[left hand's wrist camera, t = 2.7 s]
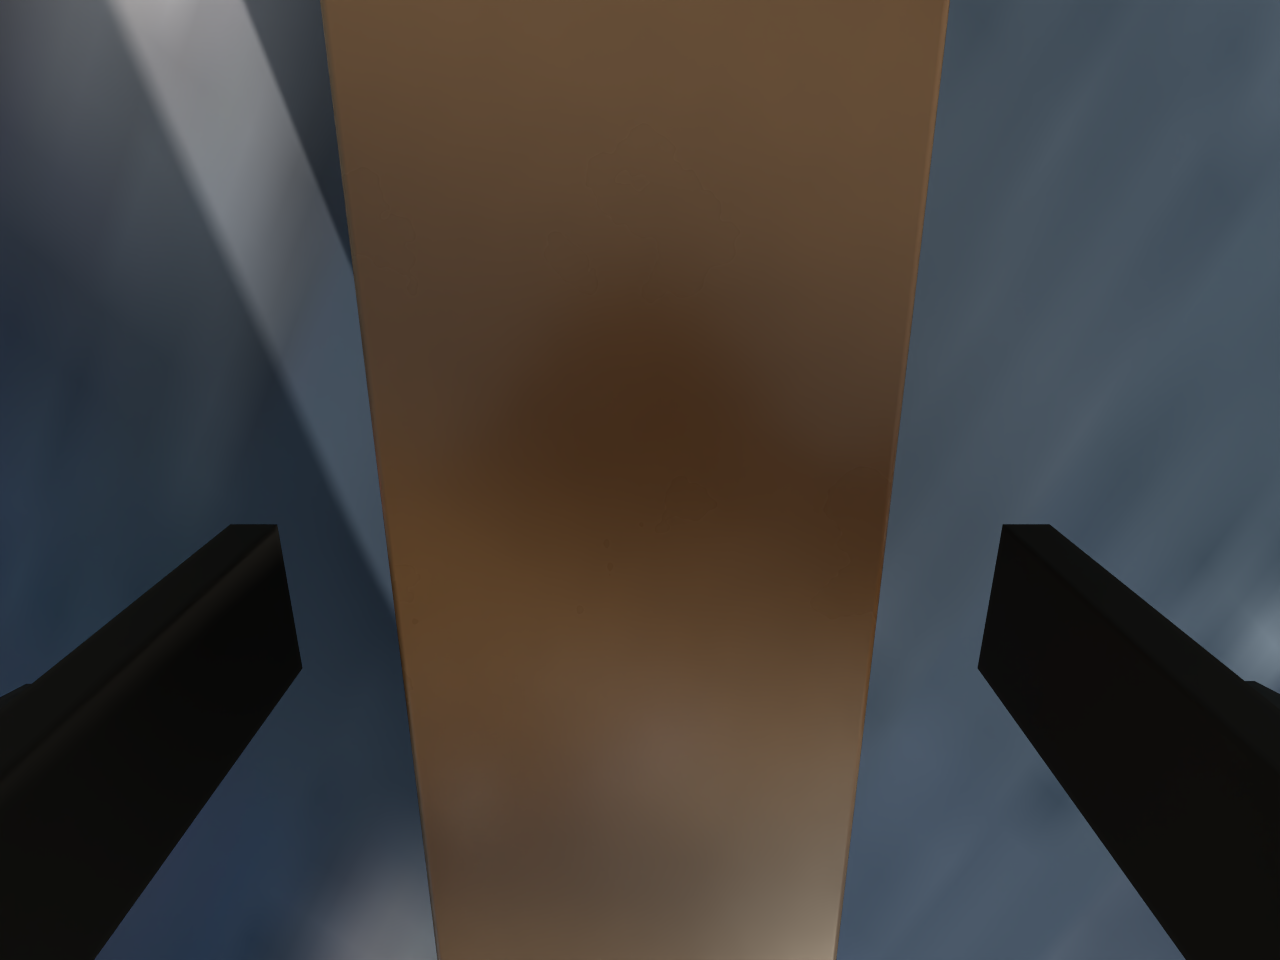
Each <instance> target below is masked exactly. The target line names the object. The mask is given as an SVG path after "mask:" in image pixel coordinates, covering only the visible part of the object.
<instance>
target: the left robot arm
mask: <svg viewBox="0 0 1280 960" xmlns="http://www.w3.org/2000/svg"><path fill="white" fill-rule="evenodd" d="M301 669H302V663H301V658H300V652H299V646H298V641H297V635H296V629H295V623H294V618H293V612H292V606H291V601H290V595H289V589H288V583H287V578H286V572H285V566H284V561H283V555H282V549H281V543H280V538H279V532H278V526H277V524H230V525H229V526H228V527H227V528H225V529H224V530H223V531H222V532H220V533H219V534H218V535H217V536H215V537H214V538H213V539H212V540H210V541H209V542H208V543H207V544H205V545H204V546H203V547H202V548H200V549H199V550H198V551H197V552H196V553H194V554H193V555H192V556H191V557H189V558H188V559H187V560H186V561H184V562H183V563H182V564H181V565H179V566H178V567H177V568H176V569H174V570H173V571H172V572H171V573H169V574H168V575H167V576H166V577H164V578H163V579H162V580H161V581H159V582H158V583H157V584H156V585H154V586H153V587H152V588H151V589H149V590H148V591H147V592H146V593H144V594H143V595H142V596H141V597H139V598H138V599H137V600H136V601H134V602H133V603H132V604H131V605H130V606H128V607H127V608H126V609H125V610H123V611H122V612H121V613H120V614H118V615H117V616H116V617H115V618H113V619H112V620H111V621H110V622H108V623H107V624H106V625H105V626H103V627H102V628H101V629H100V630H98V631H97V632H96V633H95V634H93V635H92V636H91V637H90V638H88V639H87V640H86V641H85V642H83V643H82V644H81V645H80V646H78V647H77V648H76V649H75V650H73V651H72V652H71V653H70V654H68V655H67V656H66V657H65V658H64V659H62V660H61V661H60V662H59V663H57V664H56V665H55V666H54V667H52V668H51V669H50V670H49V671H47V672H46V673H45V674H44V675H42V676H41V677H40V678H39V679H37V680H36V681H35V682H34V683H32V684H25V685H23V686H21V687H19V688H17V689H16V690H14V691H12V692H10V693H8V694H6V695H4V696H2V697H0V960H94V959H95V958H96V956H97V955H98V953H99V952H100V951H101V949H102V948H103V946H104V945H105V944H106V942H107V941H108V939H109V938H110V937H111V935H112V934H113V932H114V931H115V930H116V928H117V927H118V925H119V924H120V923H121V921H122V920H123V918H124V917H125V916H126V914H127V913H128V911H129V910H130V909H131V907H132V906H133V904H134V903H135V902H136V900H137V899H138V897H139V896H140V895H141V893H142V892H143V891H144V889H145V888H146V886H147V885H148V884H149V882H150V881H151V879H152V878H153V877H154V875H155V874H156V872H157V871H158V870H159V868H160V867H161V865H162V864H163V863H164V861H165V860H166V858H167V857H168V856H169V854H170V853H171V851H172V850H173V849H174V847H175V846H176V844H177V843H178V842H179V840H180V839H181V837H182V836H183V835H184V833H185V832H186V830H187V829H188V828H189V826H190V825H191V823H192V822H193V821H194V819H195V818H196V816H197V815H198V814H199V812H200V811H201V809H202V808H203V807H204V805H205V804H206V802H207V801H208V800H209V798H210V797H211V795H212V794H213V793H214V791H215V790H216V788H217V787H218V786H219V784H220V783H221V781H222V780H223V779H224V777H225V776H226V774H227V773H228V772H229V770H230V769H231V767H232V766H233V765H234V763H235V762H236V760H237V759H238V758H239V756H240V755H241V753H242V752H243V751H244V749H245V748H246V746H247V745H248V744H249V742H250V741H251V739H252V738H253V737H254V735H255V734H256V732H257V731H258V730H259V728H260V727H261V725H262V724H263V723H264V721H265V720H266V718H267V717H268V716H269V714H270V713H271V711H272V710H273V709H274V707H275V706H276V704H277V703H278V702H279V700H280V699H281V697H282V696H283V695H284V693H285V692H286V690H287V689H288V688H289V686H290V685H291V683H292V682H293V681H294V679H295V678H296V676H297V675H298V674H299V672H300V671H301ZM978 669H979V671H980V672H981V674H982V675H983V676H984V678H985V679H986V681H987V682H988V683H989V685H990V686H991V688H992V689H993V690H994V692H995V693H996V695H997V696H998V697H999V699H1000V700H1001V702H1002V703H1003V704H1004V706H1005V707H1006V709H1007V710H1008V711H1009V713H1010V714H1011V716H1012V717H1013V718H1014V720H1015V721H1016V723H1017V724H1018V725H1019V727H1020V728H1021V730H1022V731H1023V732H1024V734H1025V735H1026V737H1027V738H1028V739H1029V741H1030V742H1031V744H1032V745H1033V746H1034V748H1035V749H1036V751H1037V752H1038V753H1039V755H1040V756H1041V758H1042V759H1043V760H1044V762H1045V763H1046V765H1047V766H1048V767H1049V769H1050V770H1051V772H1052V773H1053V774H1054V776H1055V777H1056V779H1057V780H1058V781H1059V783H1060V784H1061V786H1062V787H1063V788H1064V790H1065V791H1066V793H1067V794H1068V795H1069V797H1070V798H1071V800H1072V801H1073V802H1074V804H1075V805H1076V807H1077V808H1078V809H1079V811H1080V812H1081V814H1082V815H1083V816H1084V818H1085V819H1086V821H1087V822H1088V823H1089V825H1090V826H1091V828H1092V829H1093V830H1094V832H1095V833H1096V835H1097V836H1098V837H1099V839H1100V840H1101V842H1102V843H1103V844H1104V846H1105V847H1106V849H1107V850H1108V851H1109V853H1110V854H1111V856H1112V857H1113V858H1114V860H1115V861H1116V863H1117V864H1118V865H1119V867H1120V868H1121V870H1122V871H1123V872H1124V874H1125V875H1126V877H1127V878H1128V879H1129V881H1130V882H1131V884H1132V885H1133V886H1134V888H1135V889H1136V891H1137V892H1138V893H1139V895H1140V896H1141V898H1142V899H1143V900H1144V902H1145V903H1146V905H1147V906H1148V907H1149V909H1150V910H1151V912H1152V913H1153V914H1154V916H1155V917H1156V919H1157V920H1158V921H1159V923H1160V924H1161V926H1162V927H1163V928H1164V930H1165V931H1166V933H1167V934H1168V935H1169V937H1170V938H1171V940H1172V941H1173V942H1174V944H1175V945H1176V947H1177V948H1178V949H1179V951H1180V952H1181V954H1182V955H1183V956H1184V958H1185V959H1186V960H1280V694H1279V693H1277V692H1275V691H1273V690H1271V689H1269V688H1267V687H1265V686H1263V685H1261V684H1259V683H1257V682H1255V681H1244V680H1243V679H1241V678H1240V677H1239V676H1238V675H1236V674H1235V673H1234V672H1233V671H1231V670H1230V669H1229V668H1228V667H1226V666H1225V665H1224V664H1223V663H1221V662H1220V661H1219V660H1218V659H1216V658H1215V657H1214V656H1213V655H1211V654H1210V653H1209V652H1208V651H1207V650H1205V649H1204V648H1203V647H1202V646H1200V645H1199V644H1198V643H1197V642H1195V641H1194V640H1193V639H1192V638H1190V637H1189V636H1188V635H1187V634H1185V633H1184V632H1183V631H1182V630H1180V629H1179V628H1178V627H1177V626H1175V625H1174V624H1173V623H1172V622H1170V621H1169V620H1168V619H1167V618H1165V617H1164V616H1163V615H1162V614H1160V613H1159V612H1158V611H1157V610H1155V609H1154V608H1153V607H1152V606H1150V605H1149V604H1148V603H1147V602H1145V601H1144V600H1143V599H1142V598H1141V597H1139V596H1138V595H1137V594H1136V593H1134V592H1133V591H1132V590H1131V589H1129V588H1128V587H1127V586H1126V585H1124V584H1123V583H1122V582H1121V581H1119V580H1118V579H1117V578H1116V577H1114V576H1113V575H1112V574H1111V573H1109V572H1108V571H1107V570H1106V569H1104V568H1103V567H1102V566H1101V565H1099V564H1098V563H1097V562H1096V561H1094V560H1093V559H1092V558H1091V557H1089V556H1088V555H1087V554H1086V553H1084V552H1083V551H1082V550H1081V549H1079V548H1078V547H1077V546H1076V545H1075V544H1073V543H1072V542H1071V541H1070V540H1068V539H1067V538H1066V537H1065V536H1063V535H1062V534H1061V533H1060V532H1058V531H1057V530H1056V529H1055V528H1053V527H1052V526H1051V525H1050V524H1003V526H1002V532H1001V538H1000V543H999V549H998V555H997V560H996V566H995V572H994V578H993V583H992V589H991V595H990V600H989V606H988V612H987V618H986V623H985V629H984V635H983V640H982V646H981V652H980V658H979V663H978Z"/></svg>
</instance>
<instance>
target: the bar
mask: <svg viewBox="0 0 1280 960" xmlns="http://www.w3.org/2000/svg"><path fill="white" fill-rule="evenodd" d="M320 4H321V12H322V20H323V29H324V37H325V45H326V53H327V61H328V69H329V78H330V86H331V94H332V102H333V110H334V118H335V127H336V135H337V143H338V151H339V159H340V167H341V176H342V184H343V192H344V200H345V208H346V216H347V225H348V233H349V241H350V249H351V257H352V265H353V274H354V282H355V290H356V298H357V306H358V314H359V323H360V331H361V339H362V347H363V355H364V363H365V372H366V380H367V388H368V396H369V404H370V412H371V420H372V429H373V437H374V445H375V453H376V461H377V469H378V478H379V486H380V494H381V502H382V510H383V518H384V527H385V535H386V543H387V551H388V559H389V567H390V576H391V584H392V592H393V600H394V608H395V616H396V625H397V633H398V641H399V649H400V657H401V665H402V674H403V682H404V690H405V698H406V706H407V714H408V723H409V731H410V739H411V747H412V755H413V763H414V772H415V780H416V788H417V796H418V804H419V812H420V821H421V829H422V837H423V845H424V853H425V861H426V869H427V878H428V886H429V894H430V902H431V910H432V918H433V927H434V935H435V943H436V951H437V959H438V960H836V957H837V949H838V940H839V932H840V924H841V915H842V907H843V898H844V890H845V881H846V873H847V865H848V856H849V848H850V839H851V831H852V822H853V814H854V806H855V797H856V789H857V780H858V772H859V763H860V755H861V747H862V738H863V730H864V721H865V713H866V704H867V696H868V687H869V679H870V671H871V662H872V654H873V645H874V637H875V628H876V620H877V612H878V603H879V595H880V586H881V578H882V569H883V561H884V553H885V544H886V536H887V527H888V519H889V510H890V502H891V494H892V485H893V477H894V468H895V460H896V451H897V443H898V434H899V426H900V418H901V409H902V401H903V392H904V384H905V375H906V367H907V359H908V350H909V342H910V333H911V325H912V316H913V308H914V300H915V291H916V283H917V274H918V266H919V257H920V249H921V241H922V232H923V224H924V215H925V207H926V198H927V190H928V181H929V173H930V165H931V156H932V148H933V139H934V131H935V122H936V114H937V106H938V97H939V89H940V80H941V72H942V63H943V55H944V47H945V38H946V30H947V21H948V13H949V4H950V0H320Z"/></svg>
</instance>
